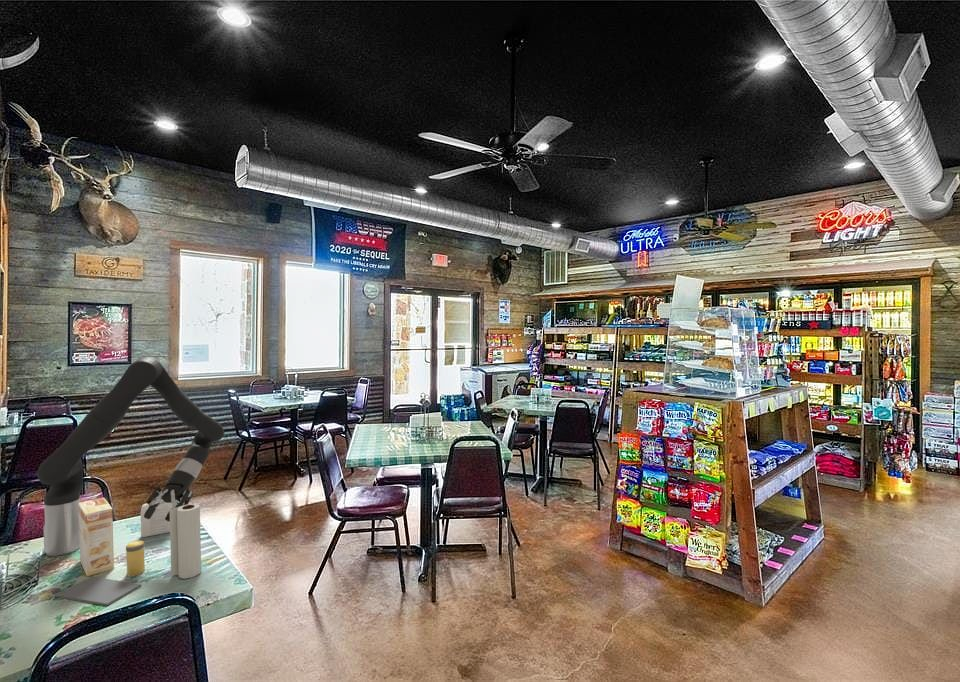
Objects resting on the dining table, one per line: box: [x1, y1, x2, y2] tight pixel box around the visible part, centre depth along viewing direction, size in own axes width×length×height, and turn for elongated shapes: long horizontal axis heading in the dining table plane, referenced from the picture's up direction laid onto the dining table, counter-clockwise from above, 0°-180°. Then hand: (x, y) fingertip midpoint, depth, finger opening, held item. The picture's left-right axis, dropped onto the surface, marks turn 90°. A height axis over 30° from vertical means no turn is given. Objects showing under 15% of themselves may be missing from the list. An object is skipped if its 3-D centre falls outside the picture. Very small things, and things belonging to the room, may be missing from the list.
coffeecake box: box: [78, 497, 115, 577], centre depth 152 cm, size 15×7×20 cm, turn 47°
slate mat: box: [54, 575, 142, 607], centre depth 136 cm, size 19×10×1 cm, turn 77°
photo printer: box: [140, 502, 173, 538], centre depth 174 cm, size 10×4×12 cm, turn 123°
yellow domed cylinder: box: [125, 540, 146, 577], centre depth 147 cm, size 5×5×9 cm
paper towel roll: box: [169, 503, 202, 580], centre depth 146 cm, size 7×6×21 cm
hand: (156, 519), depth 154 cm, fingers open, 8 cm apart
